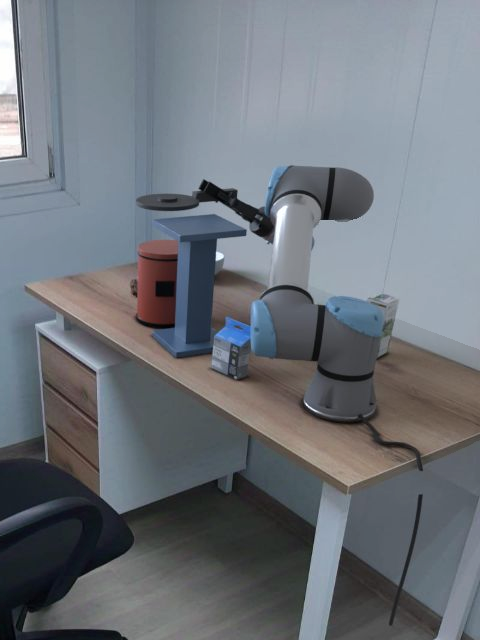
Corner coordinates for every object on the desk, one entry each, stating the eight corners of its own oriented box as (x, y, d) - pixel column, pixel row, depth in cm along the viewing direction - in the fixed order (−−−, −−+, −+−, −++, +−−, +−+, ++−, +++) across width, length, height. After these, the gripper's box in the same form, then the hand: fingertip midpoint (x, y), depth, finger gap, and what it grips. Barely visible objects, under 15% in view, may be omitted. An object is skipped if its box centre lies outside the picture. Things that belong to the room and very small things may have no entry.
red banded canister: (192, 329, 201) (196, 255, 190) (135, 328, 201) (135, 254, 191) (190, 309, 214) (194, 239, 203) (137, 308, 215) (138, 238, 204)
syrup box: (367, 347, 190) (377, 291, 182) (388, 353, 186) (400, 297, 179) (355, 353, 187) (365, 297, 179) (376, 359, 183) (388, 302, 175)
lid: (149, 213, 182) (150, 203, 181) (126, 200, 196) (126, 190, 194) (249, 204, 190) (250, 195, 189) (221, 192, 203) (221, 183, 202)
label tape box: (210, 368, 179) (213, 319, 172) (222, 364, 181) (226, 316, 174) (236, 380, 173) (240, 330, 166) (248, 376, 175) (253, 326, 168)
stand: (207, 327, 202) (214, 213, 186) (236, 350, 188) (246, 229, 172) (149, 335, 197) (152, 219, 181) (175, 359, 184) (180, 235, 168)
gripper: (275, 244, 199) (209, 205, 187) (247, 231, 212) (184, 193, 200) (290, 218, 197) (225, 176, 185) (261, 206, 209) (198, 166, 197)
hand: (204, 185), depth 192 cm, fingers closed on lid, 3 cm apart
